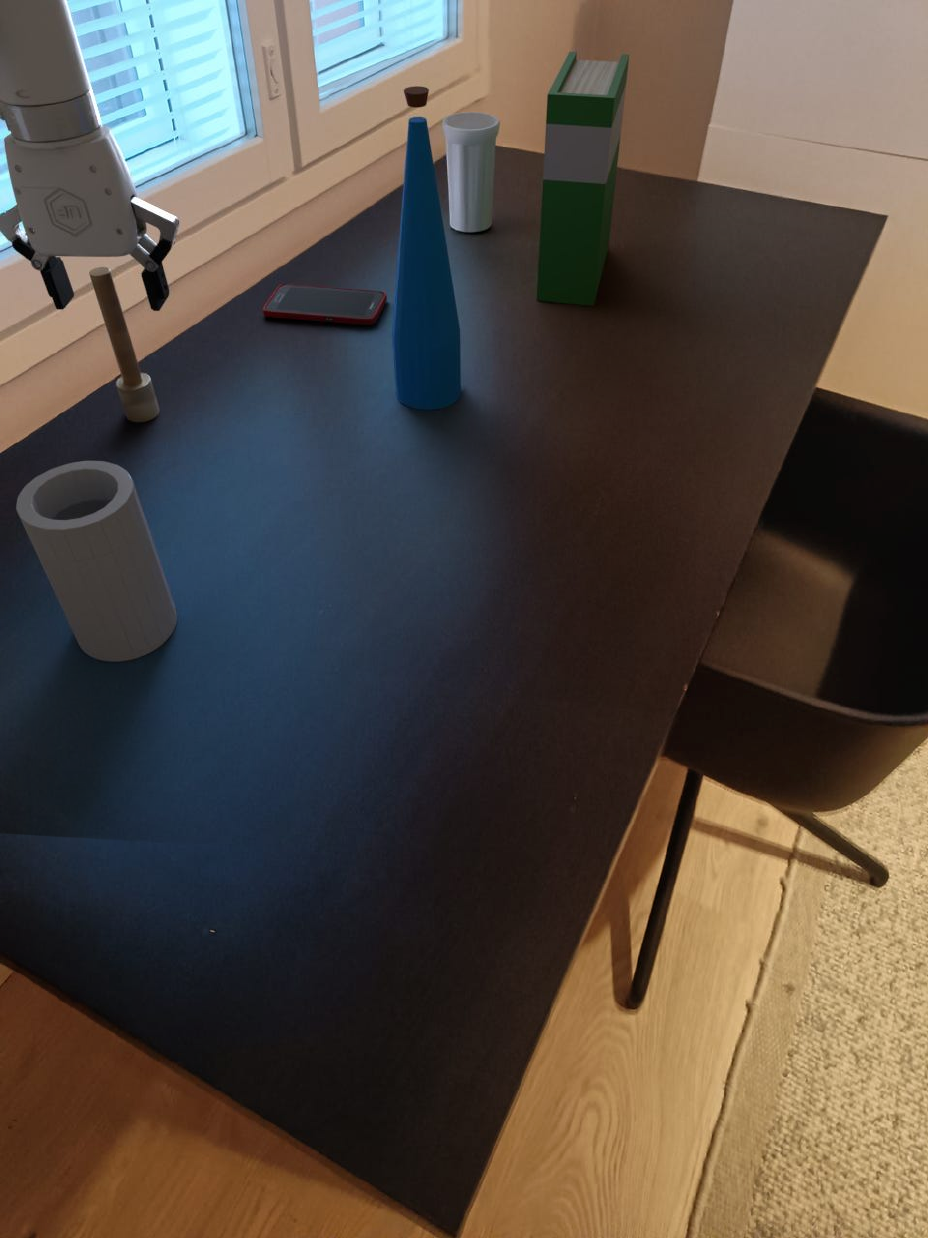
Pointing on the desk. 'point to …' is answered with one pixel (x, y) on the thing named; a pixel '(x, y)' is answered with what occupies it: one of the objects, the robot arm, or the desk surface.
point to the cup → (470, 168)
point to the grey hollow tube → (99, 558)
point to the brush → (124, 352)
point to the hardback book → (579, 177)
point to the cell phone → (325, 304)
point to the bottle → (424, 282)
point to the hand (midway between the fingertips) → (112, 303)
